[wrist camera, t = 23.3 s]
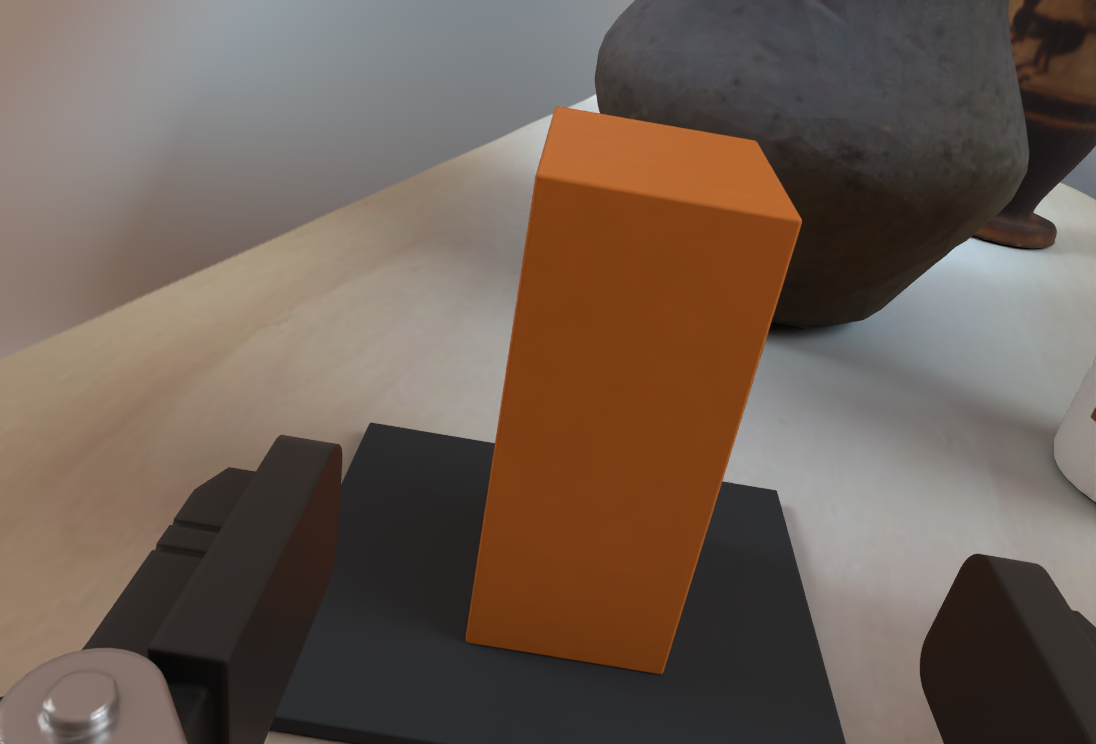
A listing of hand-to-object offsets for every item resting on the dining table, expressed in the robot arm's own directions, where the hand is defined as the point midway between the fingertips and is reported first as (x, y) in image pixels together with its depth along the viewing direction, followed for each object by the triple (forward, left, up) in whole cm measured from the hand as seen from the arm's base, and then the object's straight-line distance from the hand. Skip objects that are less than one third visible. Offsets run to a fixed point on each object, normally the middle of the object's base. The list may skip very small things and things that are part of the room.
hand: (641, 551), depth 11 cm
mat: (0, +10, -10) cm, 14 cm away
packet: (0, +10, -9) cm, 14 cm away
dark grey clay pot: (+9, +36, -10) cm, 39 cm away
